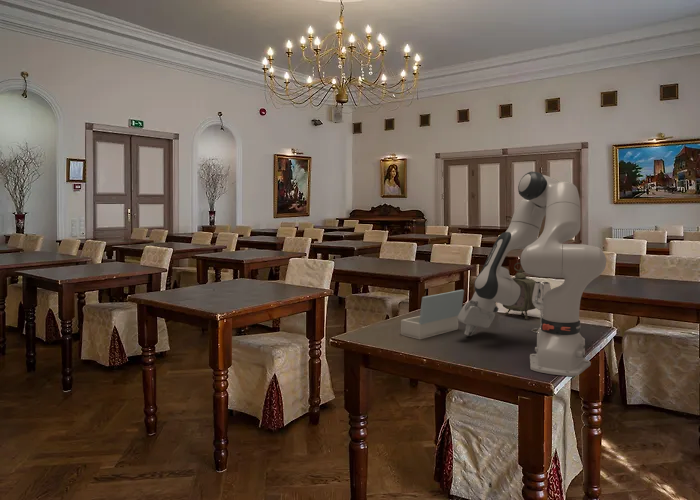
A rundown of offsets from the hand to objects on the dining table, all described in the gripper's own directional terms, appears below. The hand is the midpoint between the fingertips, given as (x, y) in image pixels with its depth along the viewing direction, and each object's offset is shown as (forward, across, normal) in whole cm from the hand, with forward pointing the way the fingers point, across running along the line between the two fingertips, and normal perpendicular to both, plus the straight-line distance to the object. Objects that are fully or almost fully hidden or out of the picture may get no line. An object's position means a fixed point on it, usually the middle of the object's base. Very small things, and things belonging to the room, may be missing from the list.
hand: (467, 335), depth 209 cm
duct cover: (-6, -6, +12) cm, 15 cm away
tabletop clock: (-12, +46, +4) cm, 47 cm away
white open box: (+6, -2, +14) cm, 16 cm away
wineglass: (-12, +26, -15) cm, 33 cm away
